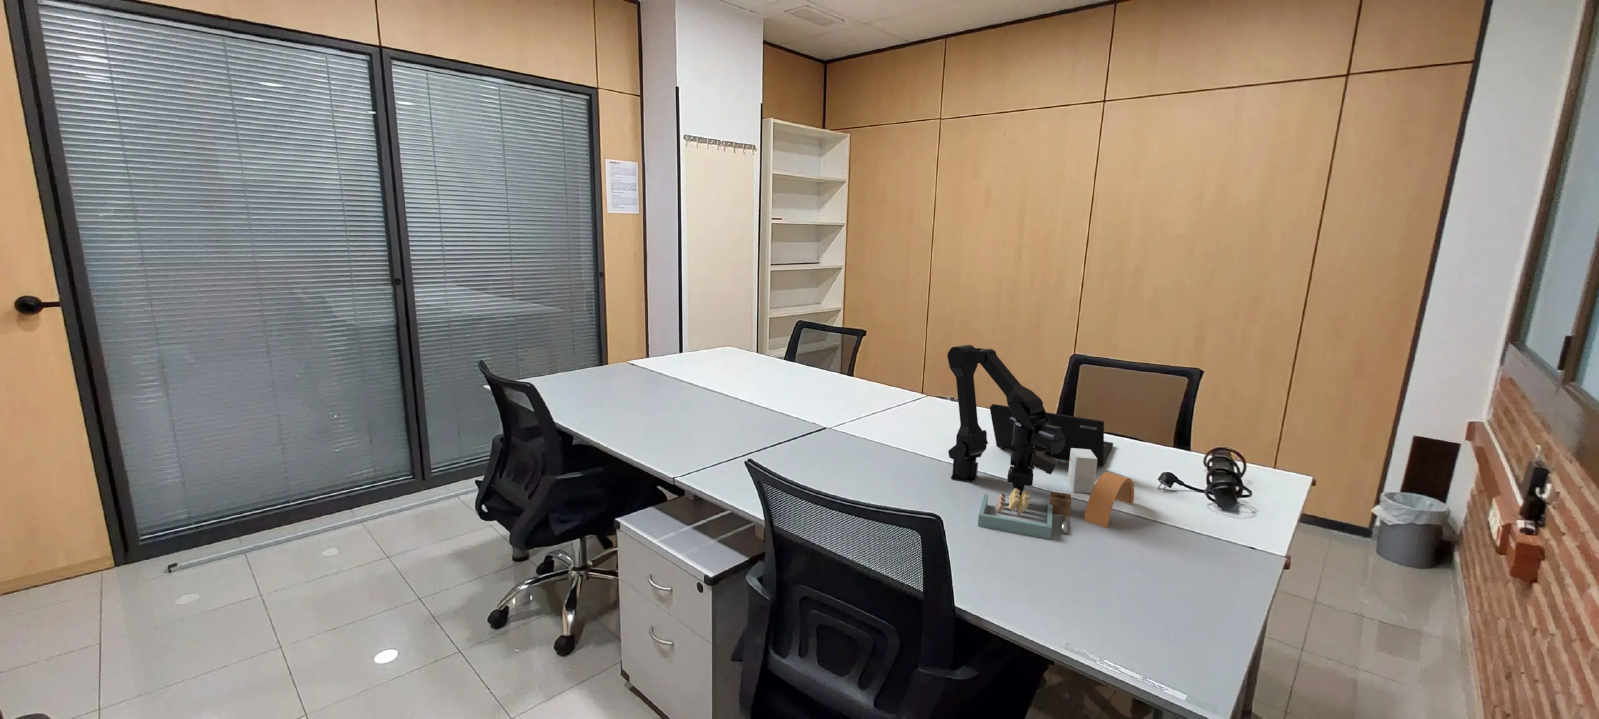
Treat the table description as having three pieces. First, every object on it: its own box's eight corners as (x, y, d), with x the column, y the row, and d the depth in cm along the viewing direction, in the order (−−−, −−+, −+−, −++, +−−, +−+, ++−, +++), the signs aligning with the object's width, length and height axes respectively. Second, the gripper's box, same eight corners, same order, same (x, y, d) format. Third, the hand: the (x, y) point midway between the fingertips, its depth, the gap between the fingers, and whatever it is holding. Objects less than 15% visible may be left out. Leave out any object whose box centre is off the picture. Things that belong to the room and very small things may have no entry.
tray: (977, 525, 158) (978, 514, 158) (983, 504, 171) (984, 493, 170) (1050, 539, 152) (1051, 527, 152) (1051, 515, 165) (1052, 504, 164)
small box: (1093, 494, 178) (1098, 459, 176) (1072, 492, 179) (1076, 457, 177) (1087, 482, 186) (1091, 449, 183) (1066, 481, 187) (1070, 447, 184)
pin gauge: (1060, 533, 155) (1061, 528, 155) (1060, 519, 162) (1061, 514, 162) (1067, 534, 155) (1067, 529, 154) (1066, 520, 162) (1067, 515, 162)
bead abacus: (1030, 489, 169) (999, 485, 171) (1030, 501, 162) (997, 496, 164) (1028, 506, 170) (997, 501, 172) (1028, 518, 163) (996, 513, 166)
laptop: (1113, 448, 216) (1120, 393, 212) (1096, 485, 185) (1104, 421, 181) (1014, 429, 233) (1019, 378, 229) (983, 461, 202) (988, 402, 198)
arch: (1083, 520, 162) (1087, 484, 160) (1111, 497, 176) (1116, 463, 174) (1106, 528, 159) (1111, 491, 156) (1134, 504, 172) (1138, 469, 170)
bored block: (1049, 512, 166) (1050, 498, 165) (1049, 505, 171) (1051, 491, 170) (1069, 516, 164) (1071, 502, 163) (1069, 508, 169) (1071, 494, 168)
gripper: (1056, 458, 157) (1050, 516, 161) (1056, 434, 174) (1050, 487, 178) (1009, 452, 161) (1004, 508, 165) (1013, 429, 178) (1008, 481, 182)
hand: (1018, 496), depth 172 cm, fingers closed
